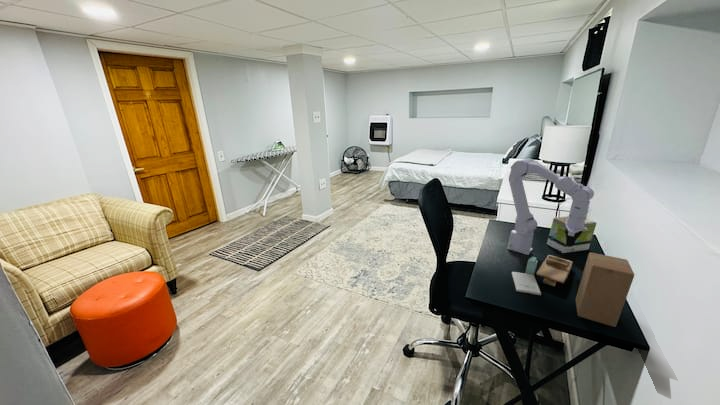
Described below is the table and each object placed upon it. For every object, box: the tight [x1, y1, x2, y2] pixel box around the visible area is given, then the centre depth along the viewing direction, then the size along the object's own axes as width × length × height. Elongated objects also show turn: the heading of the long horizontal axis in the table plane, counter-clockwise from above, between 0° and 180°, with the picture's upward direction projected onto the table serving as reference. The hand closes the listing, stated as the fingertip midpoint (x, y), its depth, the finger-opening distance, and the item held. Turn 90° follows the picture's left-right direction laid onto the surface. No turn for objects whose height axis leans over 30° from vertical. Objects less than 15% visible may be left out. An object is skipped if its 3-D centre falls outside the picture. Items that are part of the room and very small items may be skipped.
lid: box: [535, 257, 570, 284], centre depth 113 cm, size 9×12×3 cm
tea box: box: [546, 215, 597, 254], centre depth 137 cm, size 15×10×15 cm
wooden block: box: [575, 251, 635, 328], centre depth 94 cm, size 10×10×20 cm
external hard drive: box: [511, 271, 542, 296], centre depth 113 cm, size 2×8×12 cm
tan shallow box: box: [542, 254, 573, 287], centre depth 118 cm, size 9×19×3 cm, turn 137°
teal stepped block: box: [524, 256, 539, 276], centre depth 118 cm, size 3×4×7 cm
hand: (569, 245), depth 121 cm, fingers closed
